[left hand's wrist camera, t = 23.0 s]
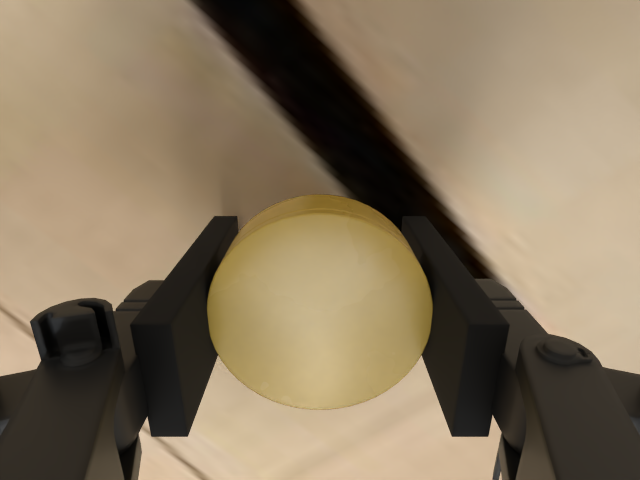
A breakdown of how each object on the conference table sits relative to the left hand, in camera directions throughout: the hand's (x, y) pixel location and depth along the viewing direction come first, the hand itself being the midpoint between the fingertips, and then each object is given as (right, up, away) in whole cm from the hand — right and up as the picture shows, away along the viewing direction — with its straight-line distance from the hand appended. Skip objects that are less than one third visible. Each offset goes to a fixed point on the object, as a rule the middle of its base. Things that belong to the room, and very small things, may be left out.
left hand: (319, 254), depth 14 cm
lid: (0, -1, -4) cm, 4 cm away
